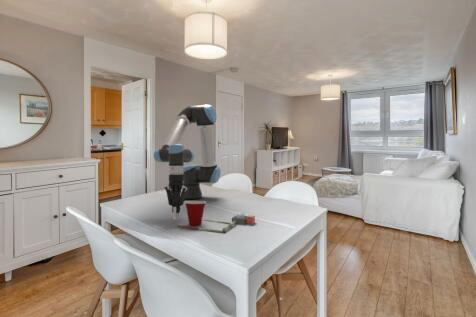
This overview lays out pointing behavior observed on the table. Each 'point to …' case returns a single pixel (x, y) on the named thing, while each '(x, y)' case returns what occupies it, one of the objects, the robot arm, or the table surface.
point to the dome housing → (245, 220)
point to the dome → (240, 215)
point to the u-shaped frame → (212, 229)
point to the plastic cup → (195, 212)
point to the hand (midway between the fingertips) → (176, 219)
